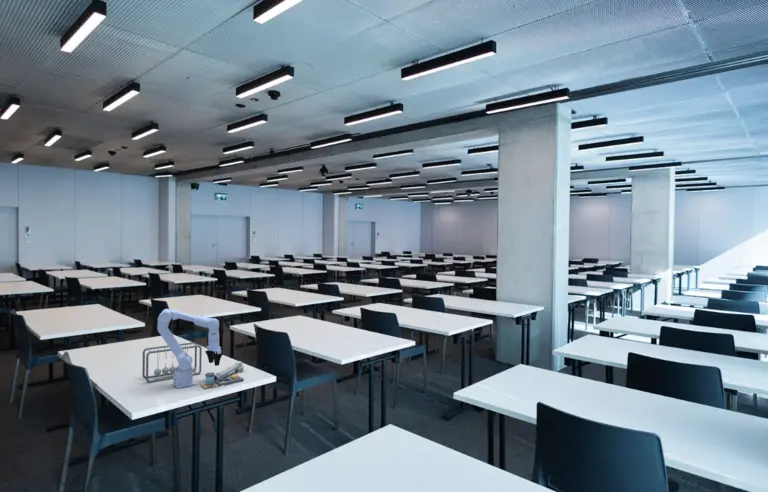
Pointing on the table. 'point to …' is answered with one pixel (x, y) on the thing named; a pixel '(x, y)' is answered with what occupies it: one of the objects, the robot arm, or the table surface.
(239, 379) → the housing
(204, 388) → the pad
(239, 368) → the pale blue tube
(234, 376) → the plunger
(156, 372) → the newton's cradle
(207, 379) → the cylinder
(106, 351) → the table surface
